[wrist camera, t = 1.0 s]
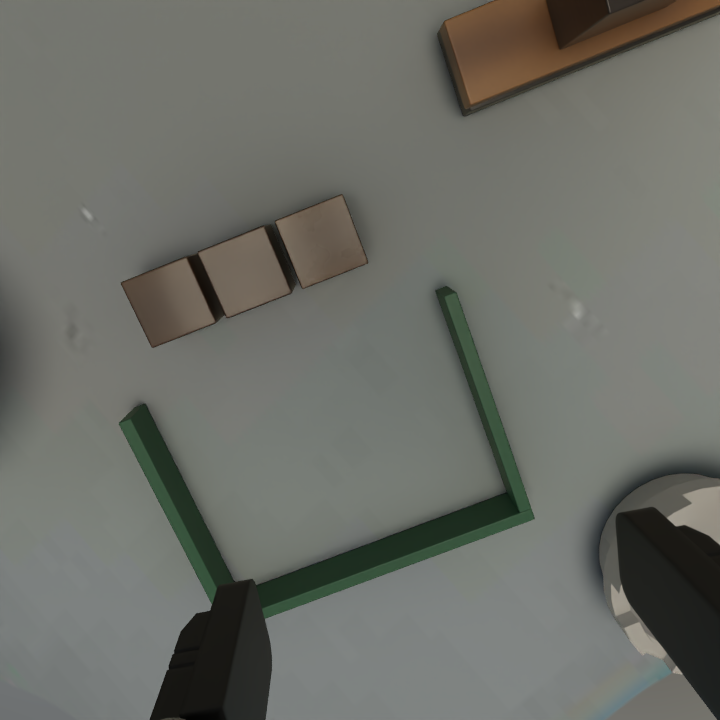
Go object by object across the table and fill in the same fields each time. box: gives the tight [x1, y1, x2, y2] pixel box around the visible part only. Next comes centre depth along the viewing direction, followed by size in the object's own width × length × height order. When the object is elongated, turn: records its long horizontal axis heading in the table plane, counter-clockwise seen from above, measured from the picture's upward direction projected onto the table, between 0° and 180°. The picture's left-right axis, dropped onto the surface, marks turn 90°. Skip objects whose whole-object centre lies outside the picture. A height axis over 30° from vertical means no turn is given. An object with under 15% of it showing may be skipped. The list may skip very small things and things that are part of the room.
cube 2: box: [198, 224, 296, 318], centre depth 36 cm, size 4×4×4 cm
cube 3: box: [275, 194, 368, 289], centre depth 35 cm, size 4×4×4 cm
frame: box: [119, 286, 535, 619], centre depth 39 cm, size 16×22×3 cm
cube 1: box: [121, 253, 225, 348], centre depth 36 cm, size 4×4×4 cm
